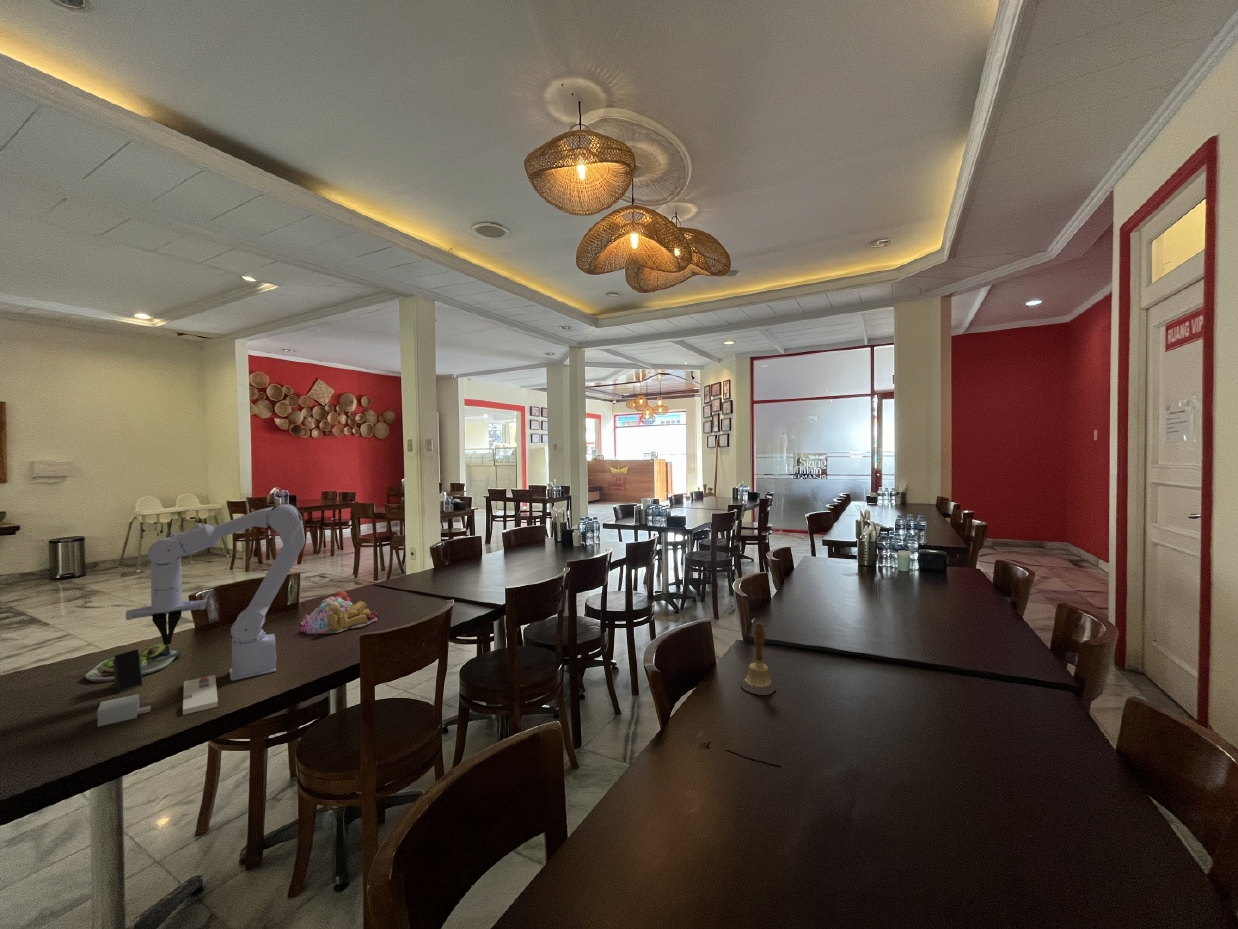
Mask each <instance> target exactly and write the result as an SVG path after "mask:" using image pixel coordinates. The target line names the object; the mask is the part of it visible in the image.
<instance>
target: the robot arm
mask: <svg viewBox="0 0 1238 929" xmlns="http://www.w3.org/2000/svg"><path fill="white" fill-rule="evenodd" d="M273 508H274V509H273ZM303 523H304V522H303V517H302V515H301V514H300V511H299V510H298V509H297V508H296V507H295V505H293V504H289V503H283V504H278V505H277V506H276V507H274V506H270V507H267V508H262V509H258V510H255V511H252V512H250V513H247V514H245V515H242V516H238V517H237V518H234V519H231V520H229V521H226V522H224V523H220V524H218V525H216V526H215V525H210V524H206V523H205V524H203V525H202V524H201V523H198V524H195V525H193V526H192V528H191V529H188V530H185V531H183V532H182V531H181V532H179V533H176V532H174V533H172V534H169V537H168V536H167V537H165V538H164V537H163V538H161V539H159V540H157V541H155V542H153V543H152V544H151V545H150V547H149V546H148V547H149V548H148V549H147V552H146V553H147V557H148V559H149V560H150V562H151V563H150V566H151V567H150V568H151V570H150V593H151V594H150V600H151V601H150V604H151V605H149V606H144V607H139V608H135V609H128V610H126V611H125V621H131V620H134V619H140V618H147V617H148V618H149V617H152V619H151V620H152V622H153V624H154V625H155V626H156V628H157V630H158V631H159V633H160V635H161V638H162V643H164V645H167V644H168V645H172V640H173V635H174V633H175V629H176V627H177V625H178V623H179V621H180V620H181V617H182V612H187V611H189V612H190V611H194V610H195V611H196V610H200V611H201V610H206V599H201V600H189V601H188V600H187V601H183V568H182V556H185V557H186V556H189V555H192V554H195V553H197V552H200V551H202V550H205V549H208V548H211V547H213V546H216V545H217V543H218V542H219V541H220V538H224V537H226V536H230V535H232V534H235V533H238V532H240V531H241V532H242V531H244V530H246V529H247V530H248V529H250V528H254V527H256V528H265V529H266V528H268V527H269V526H270V527H271V529H273V530H274V531H275V532H276V533H277V534H278V536H279V538H280V540H281V542H282V547H281V548H280V550H279V552H278V553H277V556H276V557H275V559H274V561H273V563H272V564H271V566H270V568H269V569H268V571H267V572H266V574H265V576H264V578H263V580H262V581H261V583H260V585H259V586H258V589H257V590H256V592H255V594H254V596H253V598H252V599H251V600H250V602H249V604H248V606H247V607H245V609H244V610H243V611H241V612H240V613H238V615H237V618H236V620H235V621H234V622H233V624H232V626H231V627H230V634H231V636H232V638H231V668H230V669H229V676H230V681H232V682H233V681H238V680H242V679H247V678H251V677H257V676H260V675H261V676H262V675H266V674H268V673H269V674H270V673H274V672H276V671H277V647H276V645H277V644H276V636H275V633H270V634H267V632H265V631H264V629H263V628H262V627H263V626H264V624H265V622H266V614H267V613H268V610H269V608H270V607H271V605H272V603H273V601H274V600H275V597H276V596H277V594H278V593H279V590H280V589H281V588H282V585H283V584H284V583H285V582H284V581H285V579H286V578H287V577H288V574H289V573H290V571H291V570H292V568H293V566H294V564H295V562H296V561H297V558H298V557H299V555H300V553H301V551H302V550H303V548H304V546H305V543H306V538H305V537H306V536H305V530H304V529H305V528H304V524H303ZM167 627H168V628H167Z"/></svg>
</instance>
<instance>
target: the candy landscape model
mask: <svg viewBox="0 0 1238 929" xmlns="http://www.w3.org/2000/svg"><path fill="white" fill-rule="evenodd" d="M367 607H368V605H367V603H366V602H364V601H362V600H359V601H357V603H354V604H353V602H351V598H350V597H349V596H348V593H347V591H345V590H338V591H337V592H335V594H334V596H329V597H327V598H325V599H323V600H322V601H321V603H320V605H319V606H318V607H316V608H314V610H313V612H311V613H310V614H307V613H305V615H304V617H302V621H301V622H300V625H301V626H303V627H301V628H300V632H301V633H304V634H305V633H306V634H309V635H311V634H312V635H314V634H315V635H317V634H318V635H319V634H325V635H326V634H335V633H336V634H337V633H341V632H343V631H346V630H348V629H356V628H363V627H365V626H367V625H369V624H371V623H373V622H376V621H378V619H381V617H380V615H379V614H378V612H376V611H375V610H373V611H370V609H369V608H367Z"/></svg>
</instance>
